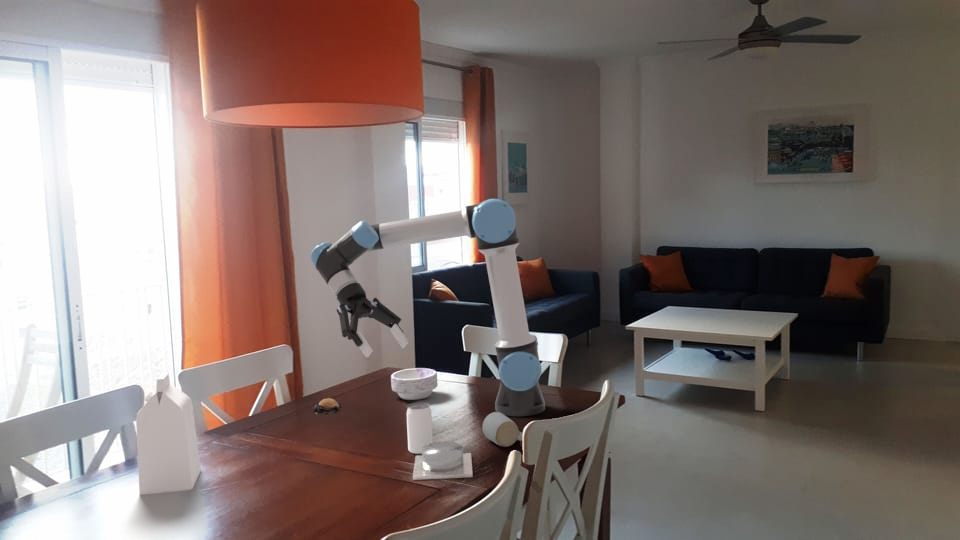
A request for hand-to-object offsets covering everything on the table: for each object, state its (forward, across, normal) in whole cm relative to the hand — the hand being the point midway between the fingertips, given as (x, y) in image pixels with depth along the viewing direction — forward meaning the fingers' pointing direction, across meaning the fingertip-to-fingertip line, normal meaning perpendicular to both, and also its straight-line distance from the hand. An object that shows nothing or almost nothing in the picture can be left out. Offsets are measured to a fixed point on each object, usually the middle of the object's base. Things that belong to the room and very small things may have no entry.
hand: (388, 349), depth 199 cm
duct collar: (+35, +7, 0) cm, 36 cm away
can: (+26, +1, -10) cm, 28 cm away
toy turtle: (-9, -11, -46) cm, 49 cm away
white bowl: (0, -36, -36) cm, 51 cm away
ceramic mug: (+37, -16, +1) cm, 40 cm away
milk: (+1, +50, -36) cm, 61 cm away
